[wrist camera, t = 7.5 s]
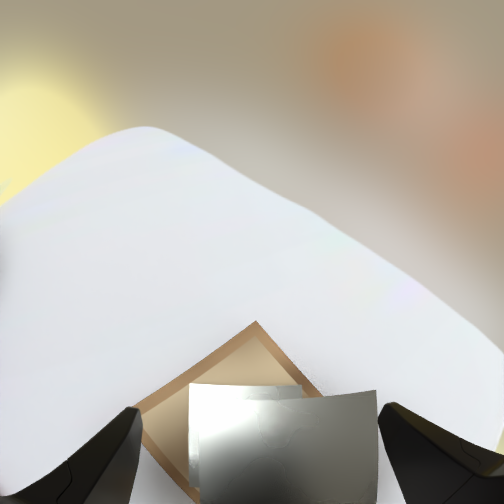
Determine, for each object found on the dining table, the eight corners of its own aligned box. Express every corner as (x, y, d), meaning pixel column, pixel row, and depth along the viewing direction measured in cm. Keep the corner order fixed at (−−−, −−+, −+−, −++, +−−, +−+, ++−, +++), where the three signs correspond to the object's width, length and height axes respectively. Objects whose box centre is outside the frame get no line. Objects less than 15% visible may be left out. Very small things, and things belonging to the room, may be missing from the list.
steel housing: (297, 479, 13) (399, 541, 4) (190, 481, 12) (165, 573, 3) (296, 386, 16) (400, 351, 7) (191, 384, 16) (159, 354, 6)
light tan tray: (344, 432, 17) (361, 434, 15) (231, 522, 13) (234, 537, 10) (250, 330, 21) (256, 319, 18) (131, 413, 16) (119, 413, 14)
